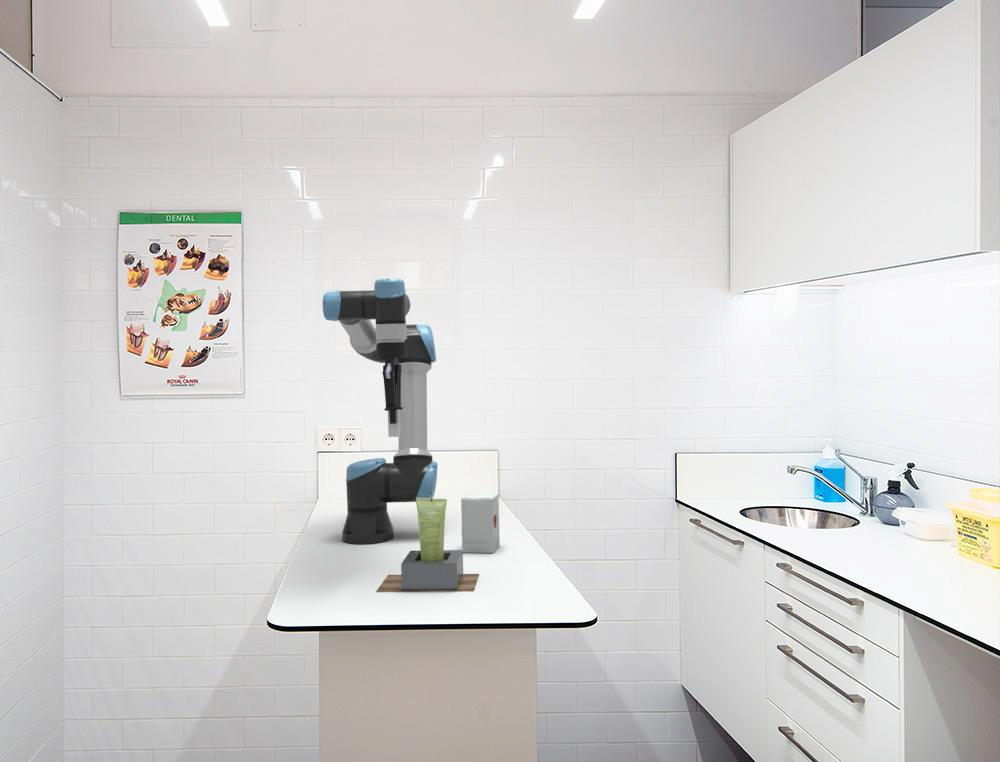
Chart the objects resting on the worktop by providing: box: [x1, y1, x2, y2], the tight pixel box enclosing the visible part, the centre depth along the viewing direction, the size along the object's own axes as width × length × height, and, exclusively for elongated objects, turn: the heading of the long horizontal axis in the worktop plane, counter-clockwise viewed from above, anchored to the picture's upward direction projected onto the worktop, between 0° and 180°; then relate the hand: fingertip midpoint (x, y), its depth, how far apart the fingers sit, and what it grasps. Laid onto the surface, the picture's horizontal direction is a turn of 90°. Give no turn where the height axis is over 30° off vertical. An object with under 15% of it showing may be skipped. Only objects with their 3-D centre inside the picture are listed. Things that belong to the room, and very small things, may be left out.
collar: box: [400, 549, 464, 590], centre depth 182 cm, size 12×12×6 cm
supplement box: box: [460, 492, 501, 554], centre depth 218 cm, size 9×9×15 cm
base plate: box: [375, 573, 480, 593], centre depth 182 cm, size 14×22×1 cm, turn 86°
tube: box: [415, 498, 448, 561], centre depth 182 cm, size 6×5×20 cm
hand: (394, 436), depth 197 cm, fingers closed
